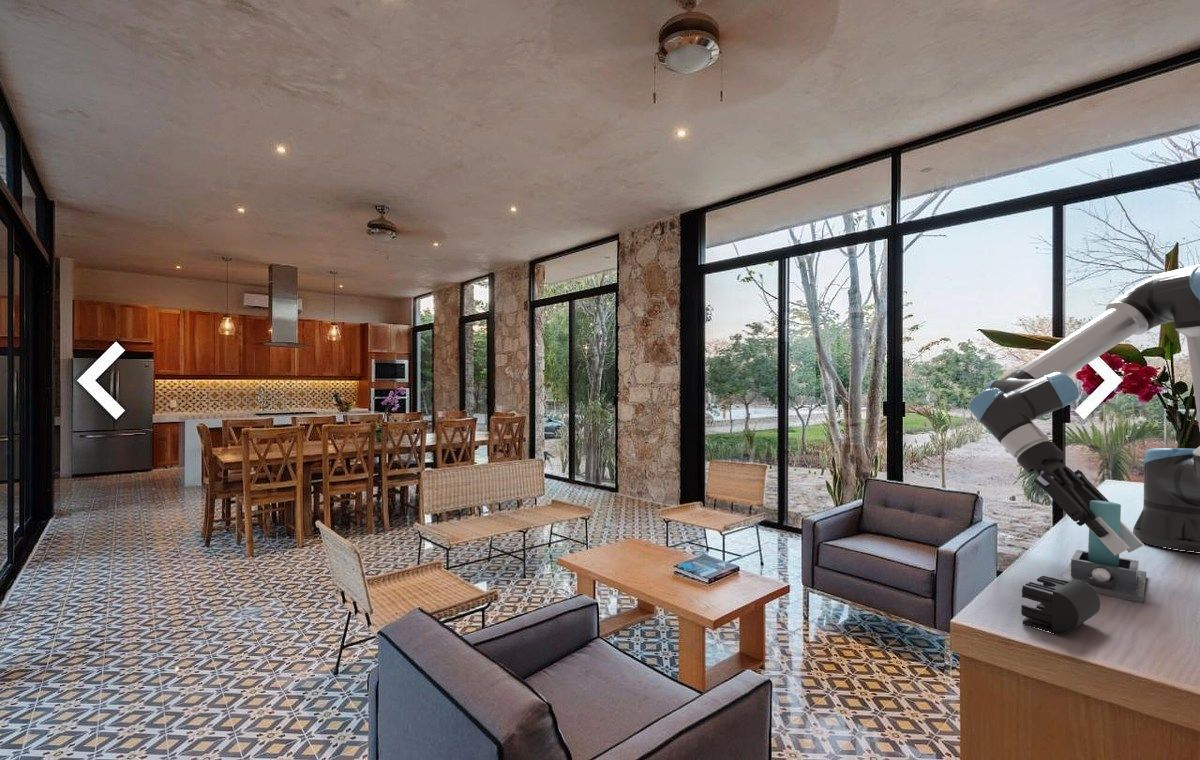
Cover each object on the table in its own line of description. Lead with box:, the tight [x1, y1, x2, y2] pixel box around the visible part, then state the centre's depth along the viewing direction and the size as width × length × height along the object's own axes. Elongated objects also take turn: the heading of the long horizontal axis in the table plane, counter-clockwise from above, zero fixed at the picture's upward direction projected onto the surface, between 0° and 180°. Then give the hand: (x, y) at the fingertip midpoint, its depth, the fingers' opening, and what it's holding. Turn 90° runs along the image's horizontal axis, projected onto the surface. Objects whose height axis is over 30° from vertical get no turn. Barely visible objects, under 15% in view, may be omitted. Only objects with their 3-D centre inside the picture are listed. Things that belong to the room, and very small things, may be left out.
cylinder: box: [1087, 500, 1122, 567], centre depth 106 cm, size 4×4×12 cm
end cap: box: [1020, 575, 1101, 636], centre depth 86 cm, size 10×7×7 cm
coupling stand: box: [1059, 549, 1147, 604], centre depth 106 cm, size 19×11×4 cm, turn 134°
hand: (1129, 550), depth 102 cm, fingers closed on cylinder, 4 cm apart
